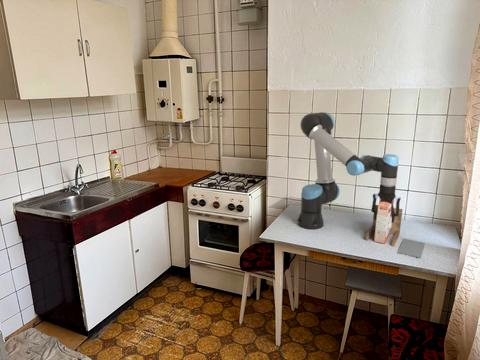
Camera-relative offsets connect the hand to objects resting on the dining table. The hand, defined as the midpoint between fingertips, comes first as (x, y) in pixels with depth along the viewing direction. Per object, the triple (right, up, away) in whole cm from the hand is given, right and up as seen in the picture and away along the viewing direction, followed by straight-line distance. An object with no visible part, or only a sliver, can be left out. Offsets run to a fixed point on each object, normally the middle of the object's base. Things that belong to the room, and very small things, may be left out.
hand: (383, 226), depth 184 cm
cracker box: (0, -7, +2) cm, 7 cm away
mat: (+10, -10, -10) cm, 17 cm away
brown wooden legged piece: (+1, -6, +3) cm, 7 cm away
